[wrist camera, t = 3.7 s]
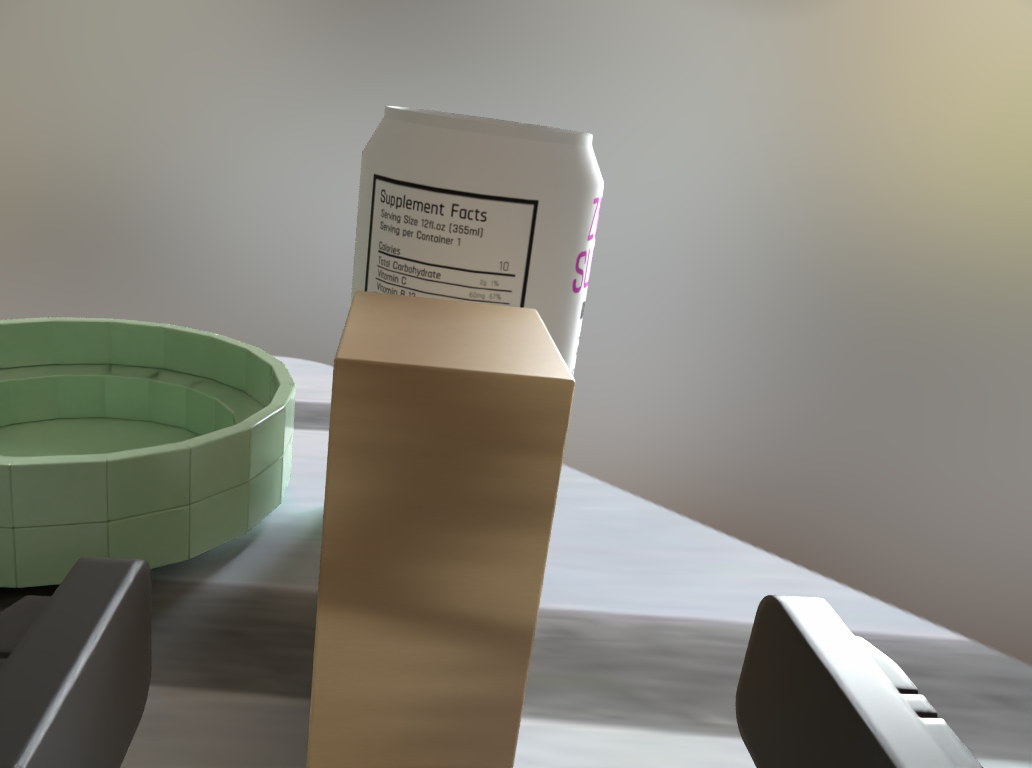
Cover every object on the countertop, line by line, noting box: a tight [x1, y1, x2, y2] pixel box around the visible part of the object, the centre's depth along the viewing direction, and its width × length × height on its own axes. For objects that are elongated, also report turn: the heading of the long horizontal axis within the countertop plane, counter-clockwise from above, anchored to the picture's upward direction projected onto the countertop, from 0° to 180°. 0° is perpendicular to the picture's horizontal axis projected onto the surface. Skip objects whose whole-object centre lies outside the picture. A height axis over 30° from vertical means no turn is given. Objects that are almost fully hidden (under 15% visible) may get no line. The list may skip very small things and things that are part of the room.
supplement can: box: [351, 106, 604, 376], centre depth 31 cm, size 8×8×15 cm
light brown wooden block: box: [306, 291, 575, 768], centre depth 20 cm, size 4×6×11 cm
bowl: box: [0, 317, 296, 588], centre depth 31 cm, size 15×15×4 cm
